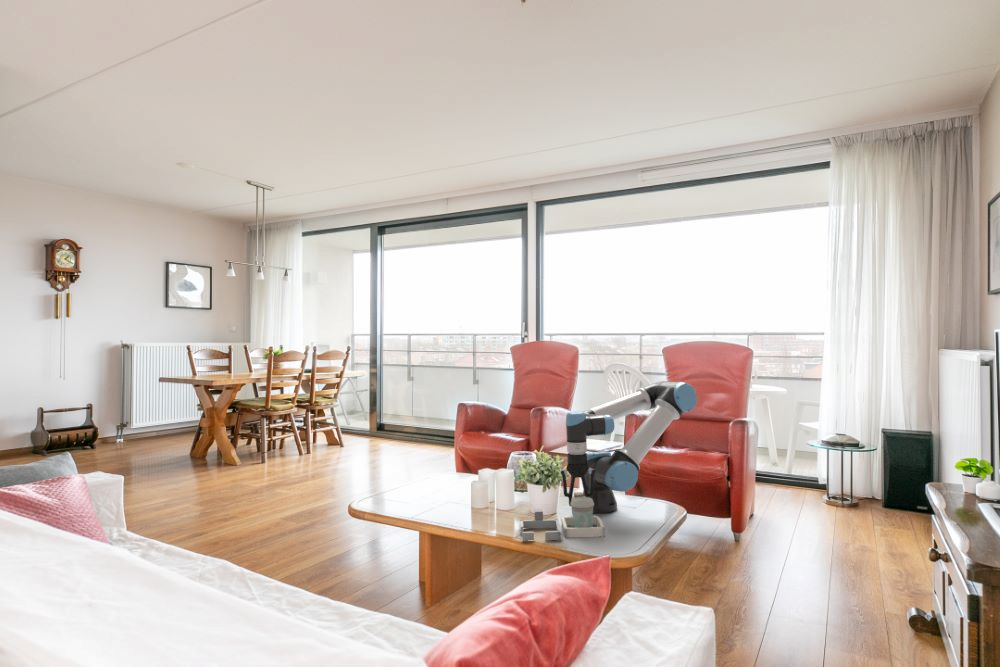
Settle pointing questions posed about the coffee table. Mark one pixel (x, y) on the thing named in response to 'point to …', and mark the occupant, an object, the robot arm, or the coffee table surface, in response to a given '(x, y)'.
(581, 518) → the coffee cup
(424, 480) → the coffee table surface
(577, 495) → the grey tray bin
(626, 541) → the coffee table surface
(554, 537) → the grey block base
